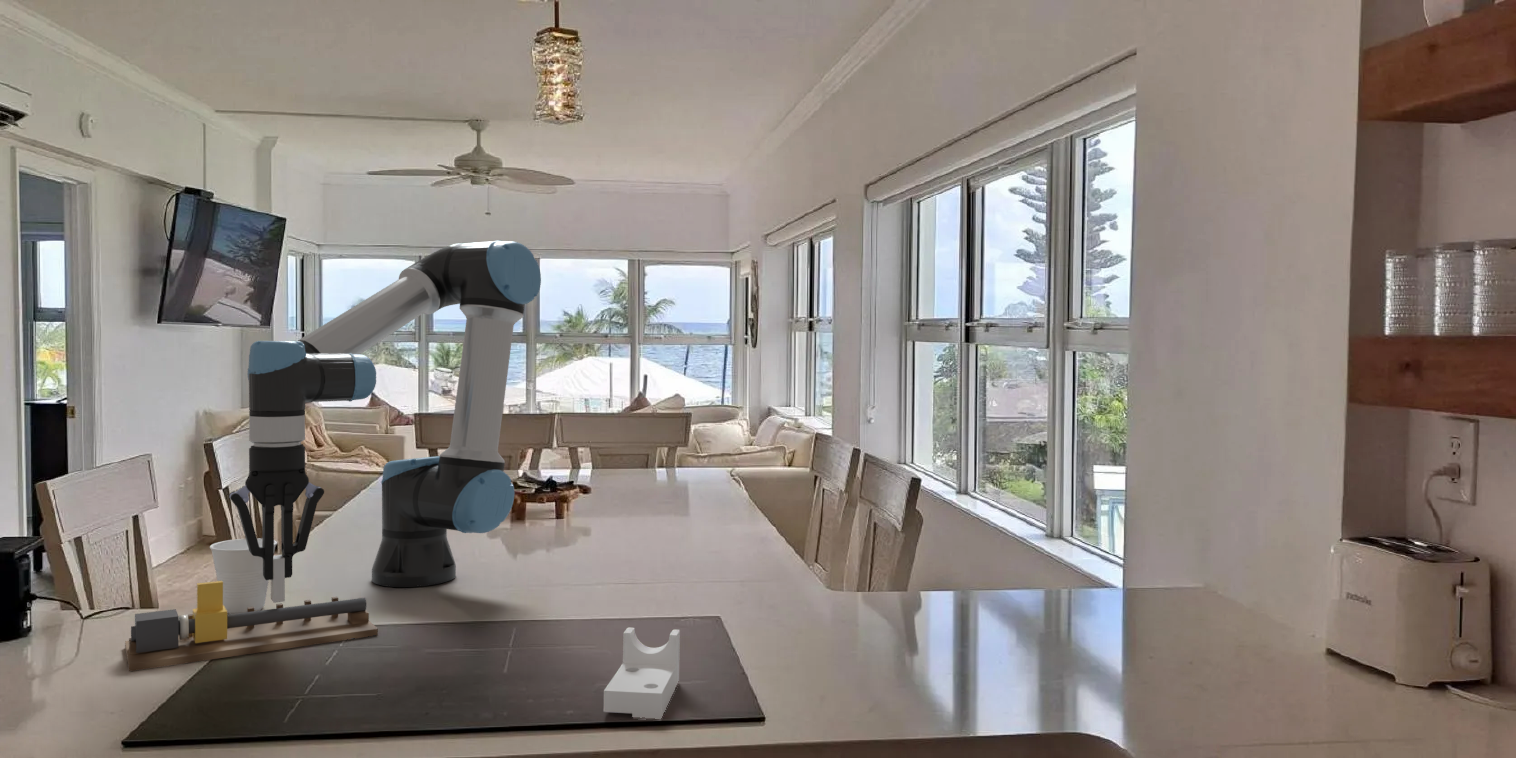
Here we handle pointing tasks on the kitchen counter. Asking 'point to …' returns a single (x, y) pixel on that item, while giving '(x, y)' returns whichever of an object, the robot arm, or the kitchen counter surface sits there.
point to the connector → (160, 630)
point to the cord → (284, 614)
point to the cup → (240, 575)
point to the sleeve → (210, 613)
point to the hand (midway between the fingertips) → (277, 599)
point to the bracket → (644, 677)
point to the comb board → (257, 639)
